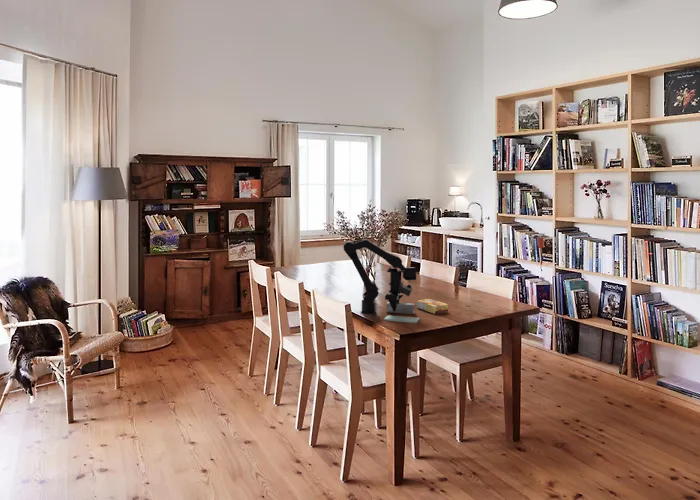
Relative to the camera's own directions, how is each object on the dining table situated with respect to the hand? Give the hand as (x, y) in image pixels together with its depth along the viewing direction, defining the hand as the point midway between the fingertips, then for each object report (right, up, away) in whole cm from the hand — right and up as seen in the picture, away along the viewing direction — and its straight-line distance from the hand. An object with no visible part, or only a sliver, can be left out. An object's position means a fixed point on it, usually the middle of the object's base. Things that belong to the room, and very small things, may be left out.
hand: (395, 310), depth 279 cm
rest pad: (+2, -3, -15) cm, 16 cm away
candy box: (+24, +1, -3) cm, 24 cm away
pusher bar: (+3, -1, -1) cm, 3 cm away
